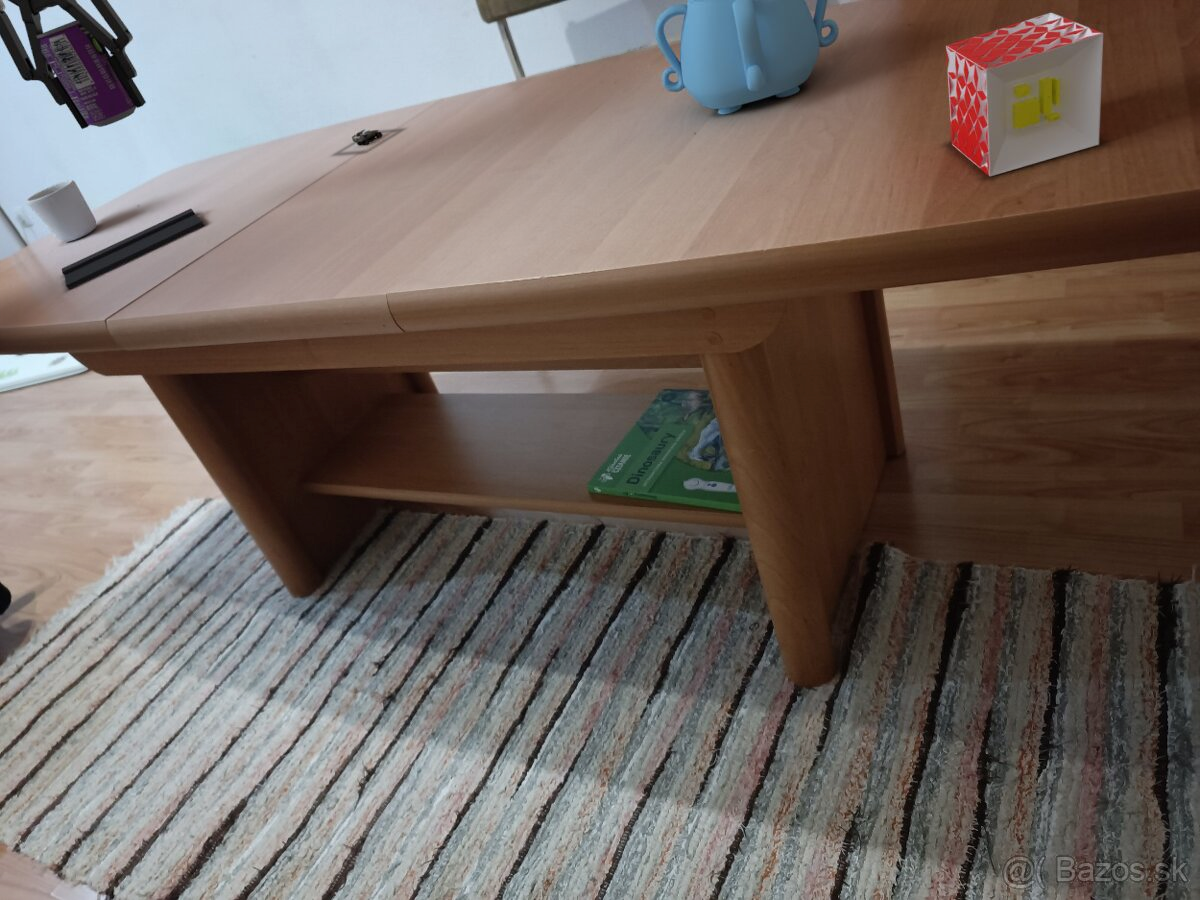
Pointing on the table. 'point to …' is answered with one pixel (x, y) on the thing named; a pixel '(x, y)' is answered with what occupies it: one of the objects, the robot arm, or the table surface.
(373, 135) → the toy car
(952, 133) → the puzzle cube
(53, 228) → the cup
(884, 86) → the table surface
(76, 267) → the slotted black track
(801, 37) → the decorative pot
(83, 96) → the beverage can
